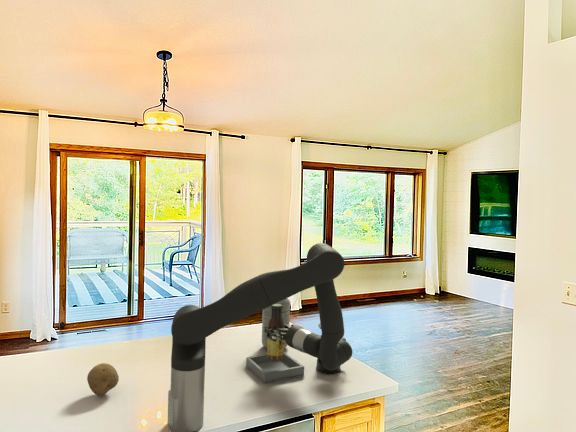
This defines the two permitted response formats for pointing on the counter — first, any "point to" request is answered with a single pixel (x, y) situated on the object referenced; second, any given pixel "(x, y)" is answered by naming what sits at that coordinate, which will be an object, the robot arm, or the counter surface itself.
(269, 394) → the counter surface
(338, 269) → the robot arm
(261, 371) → the tray
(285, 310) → the vase
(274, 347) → the sauce bottle
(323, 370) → the french press
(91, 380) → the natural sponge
